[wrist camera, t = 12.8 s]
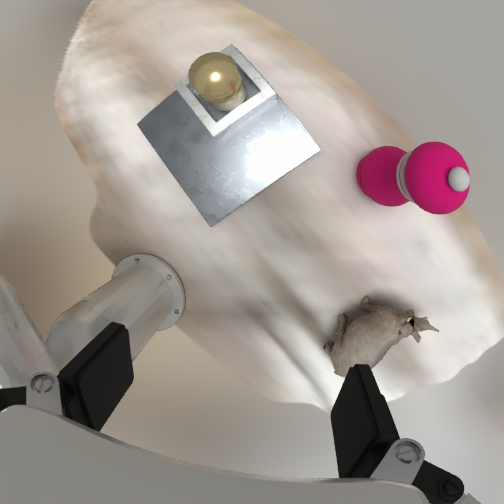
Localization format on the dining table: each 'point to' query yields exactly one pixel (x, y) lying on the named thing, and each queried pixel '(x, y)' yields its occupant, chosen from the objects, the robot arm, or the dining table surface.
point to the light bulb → (217, 81)
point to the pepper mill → (416, 177)
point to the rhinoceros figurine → (372, 335)
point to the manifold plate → (227, 142)
